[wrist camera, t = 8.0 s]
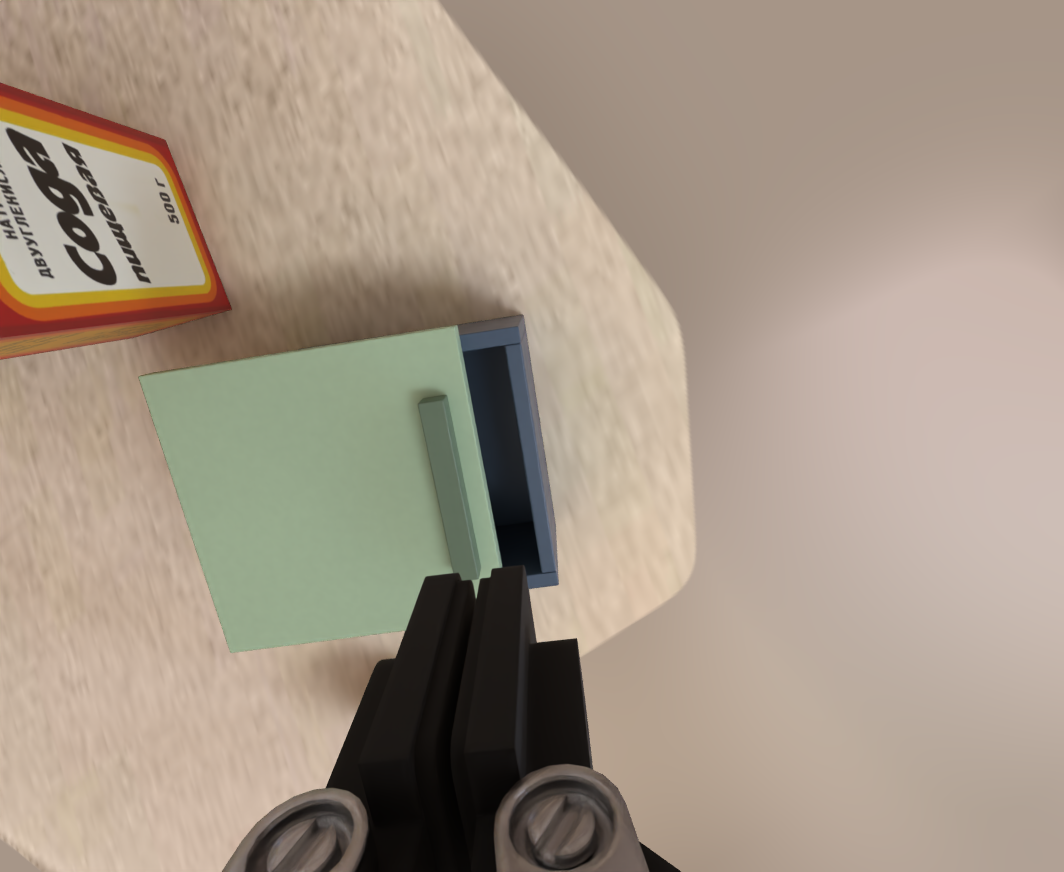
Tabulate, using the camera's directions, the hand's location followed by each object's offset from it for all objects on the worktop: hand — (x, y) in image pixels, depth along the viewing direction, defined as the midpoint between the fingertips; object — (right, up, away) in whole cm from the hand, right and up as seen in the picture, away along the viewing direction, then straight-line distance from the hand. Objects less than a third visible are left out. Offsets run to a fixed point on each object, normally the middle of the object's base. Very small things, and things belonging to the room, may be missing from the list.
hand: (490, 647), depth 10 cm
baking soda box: (-21, +15, +24) cm, 36 cm away
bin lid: (-9, +1, +20) cm, 22 cm away
